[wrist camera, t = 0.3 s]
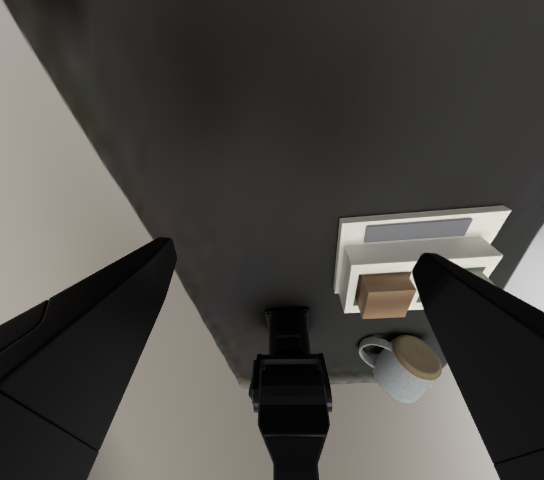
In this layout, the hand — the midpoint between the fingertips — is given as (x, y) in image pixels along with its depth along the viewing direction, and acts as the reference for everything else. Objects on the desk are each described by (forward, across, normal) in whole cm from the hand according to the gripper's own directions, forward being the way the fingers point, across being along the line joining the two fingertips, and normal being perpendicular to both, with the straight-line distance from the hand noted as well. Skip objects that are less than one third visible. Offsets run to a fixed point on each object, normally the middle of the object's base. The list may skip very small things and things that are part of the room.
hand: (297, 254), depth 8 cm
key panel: (+14, -15, +11) cm, 23 cm away
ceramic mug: (+15, -21, +32) cm, 41 cm away
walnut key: (+11, -12, +13) cm, 21 cm away
